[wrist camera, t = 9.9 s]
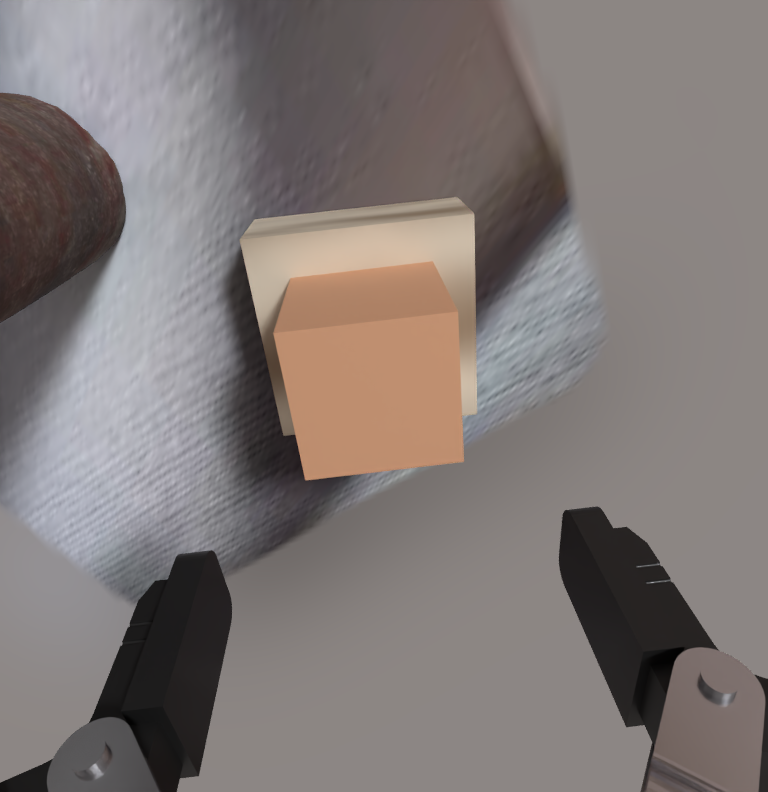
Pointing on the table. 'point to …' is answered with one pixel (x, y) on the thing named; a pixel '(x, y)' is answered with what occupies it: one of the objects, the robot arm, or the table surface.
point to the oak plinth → (363, 266)
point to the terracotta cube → (372, 370)
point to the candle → (51, 200)
